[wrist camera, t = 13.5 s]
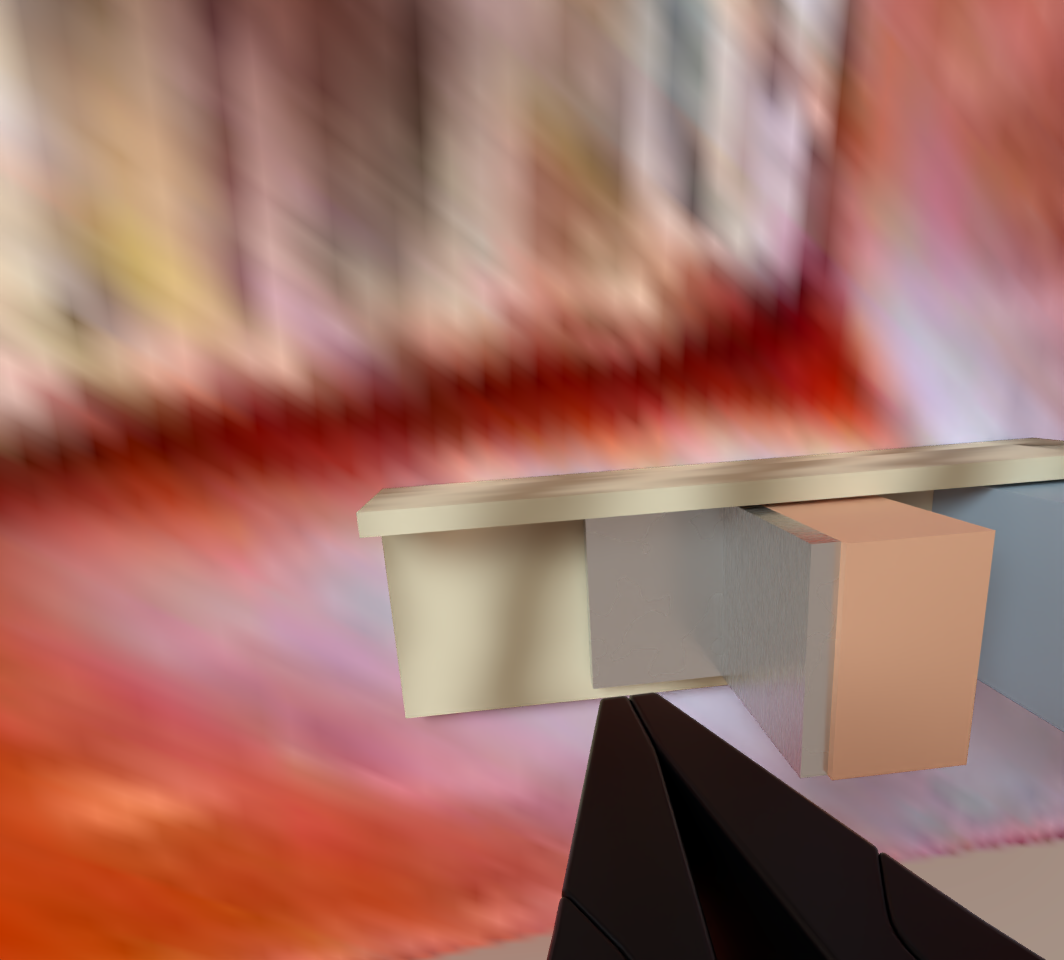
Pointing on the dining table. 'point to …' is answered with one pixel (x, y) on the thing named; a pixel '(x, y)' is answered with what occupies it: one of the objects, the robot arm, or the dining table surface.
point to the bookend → (721, 613)
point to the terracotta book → (902, 632)
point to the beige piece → (559, 557)
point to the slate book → (1020, 589)
